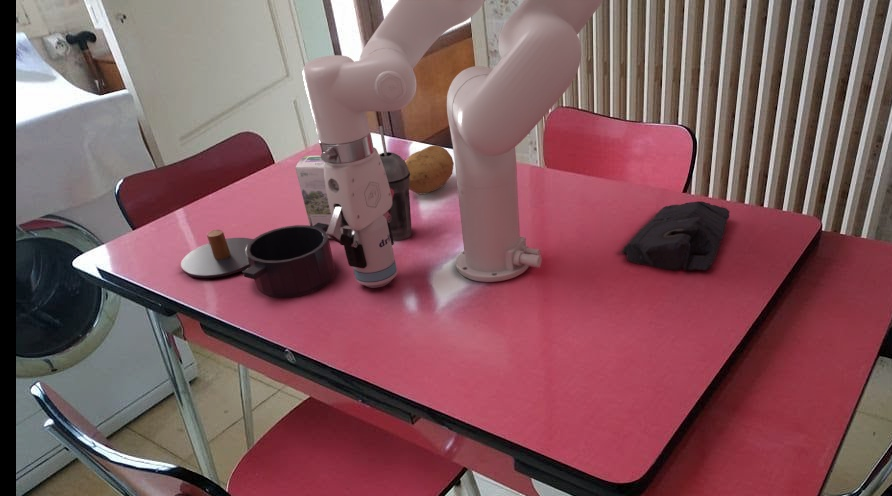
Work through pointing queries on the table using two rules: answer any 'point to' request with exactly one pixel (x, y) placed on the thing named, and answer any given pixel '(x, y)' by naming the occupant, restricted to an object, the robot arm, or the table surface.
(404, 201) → the beverage cup
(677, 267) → the black folded cloth
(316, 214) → the syrup box
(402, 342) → the table surface
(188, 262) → the lid
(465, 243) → the robot arm
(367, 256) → the beverage can
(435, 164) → the potato
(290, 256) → the pan
